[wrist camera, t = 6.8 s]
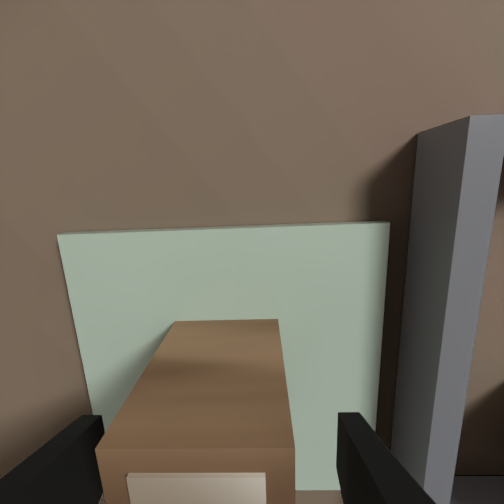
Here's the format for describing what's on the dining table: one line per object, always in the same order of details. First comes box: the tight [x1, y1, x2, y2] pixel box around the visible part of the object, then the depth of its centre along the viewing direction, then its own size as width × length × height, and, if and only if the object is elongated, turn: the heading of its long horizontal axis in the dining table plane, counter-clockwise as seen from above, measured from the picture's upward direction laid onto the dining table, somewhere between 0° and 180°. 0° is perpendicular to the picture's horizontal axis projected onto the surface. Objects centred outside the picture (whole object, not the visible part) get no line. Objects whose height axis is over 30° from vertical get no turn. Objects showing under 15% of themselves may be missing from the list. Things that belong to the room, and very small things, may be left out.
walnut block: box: [95, 319, 295, 504], centre depth 9 cm, size 4×4×6 cm
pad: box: [57, 221, 390, 490], centre depth 12 cm, size 12×12×1 cm
